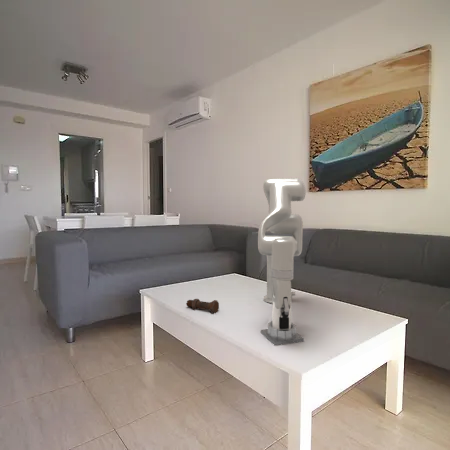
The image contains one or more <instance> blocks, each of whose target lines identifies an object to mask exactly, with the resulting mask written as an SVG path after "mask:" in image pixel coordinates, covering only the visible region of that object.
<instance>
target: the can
mask: <svg viewBox="0 0 450 450" xmlns="http://www.w3.org/2000/svg"><path fill="white" fill-rule="evenodd" d="M288 306H289V304H288ZM281 308H284V306H282V307H281ZM283 311H284V310H282V313H283ZM279 317H280V308H279V309H277V308H276V307H275V303H274V302H273V303H272V317H271V318H272V320H271V321H272V327H273V328H275V329H279V330H288V329H280V328H279ZM291 323H292V307H291V308H290V309H289V329H291Z"/></svg>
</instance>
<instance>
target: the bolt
mask: <svg viewBox="0 0 450 450" xmlns="http://www.w3.org/2000/svg"><path fill="white" fill-rule="evenodd" d="M185 305H186V307H189V308H192V309H193V310H196V311H197V310H205V311H206V310H207V311H210V313H211V314H216V313H218V312H219V309H220V303H219V301H218V300H216V299H215V300H212V301H203V300H202V301H201V300H200V299H199V298H194V299H188V300H187V301H186V304H185Z"/></svg>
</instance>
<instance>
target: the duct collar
mask: <svg viewBox="0 0 450 450" xmlns="http://www.w3.org/2000/svg"><path fill="white" fill-rule="evenodd" d="M260 333H261V334H262V335H263V336H264V337H265V338H266V339H267V340H268V341H269V342H270V343H271V344H272V345H273V344H274V345H273V346H280V345H281V344H282V345H288V344H295V343H301V342H300V341H302V342H304V341H305V338H304V337H303V336H301V335H300V334H299V333H297V325H295V324H294V323H293V322H291V329H288V330H279V329H275V328H273V327H272V320H271V321H269V322H268V323H267V328H265V329H260ZM294 342H295V343H294Z"/></svg>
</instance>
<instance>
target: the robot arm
mask: <svg viewBox="0 0 450 450" xmlns="http://www.w3.org/2000/svg"><path fill="white" fill-rule="evenodd" d="M262 187H263V188H262V189H263V192H264V196H265V199H266V201H267V205H268V214H267V215H266V216H265V218H264V219H262V221H261V223H260V225H259V227H258V233H257V234H258V235H257V248H258V252H259V254H260V255H262V256H266V295H265V296H263V301H264V302H266V303H267V304H268V303H269V304H273V302H274V303H275V307H276V308H277V309H279V308H280V317H279V328H280V329H289V309H290V308H291V309H292V297H295V296H296V295H297V294H296V292H295V291H292V282H291V281H292V280H293V279H294V262H295V261H294V260H295V259H294V258H295V257H299V256H300V255H301V254H302V252H303V230H304V228H303V226H304V225H303V218H302V216H301V215H300V214H296V213H292V202H303V201H304V199H305V198H306V193H307V192H306V186H305V183H304V181H303V180H302V179H301V178H299V177H298V178H297V177H296V178H295V177H291V178H290V177H285V178H284V177H280V178H279V177H274V178H267V179H265V180H264V182H263V186H262ZM267 230H269V232H270V233H271V234H276V235H266V232H267ZM277 234H278V235H277ZM291 235H292V236H291ZM288 304H289V306H288ZM282 306H284V308H281V307H282ZM282 310H284V311H283V313H282Z"/></svg>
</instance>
